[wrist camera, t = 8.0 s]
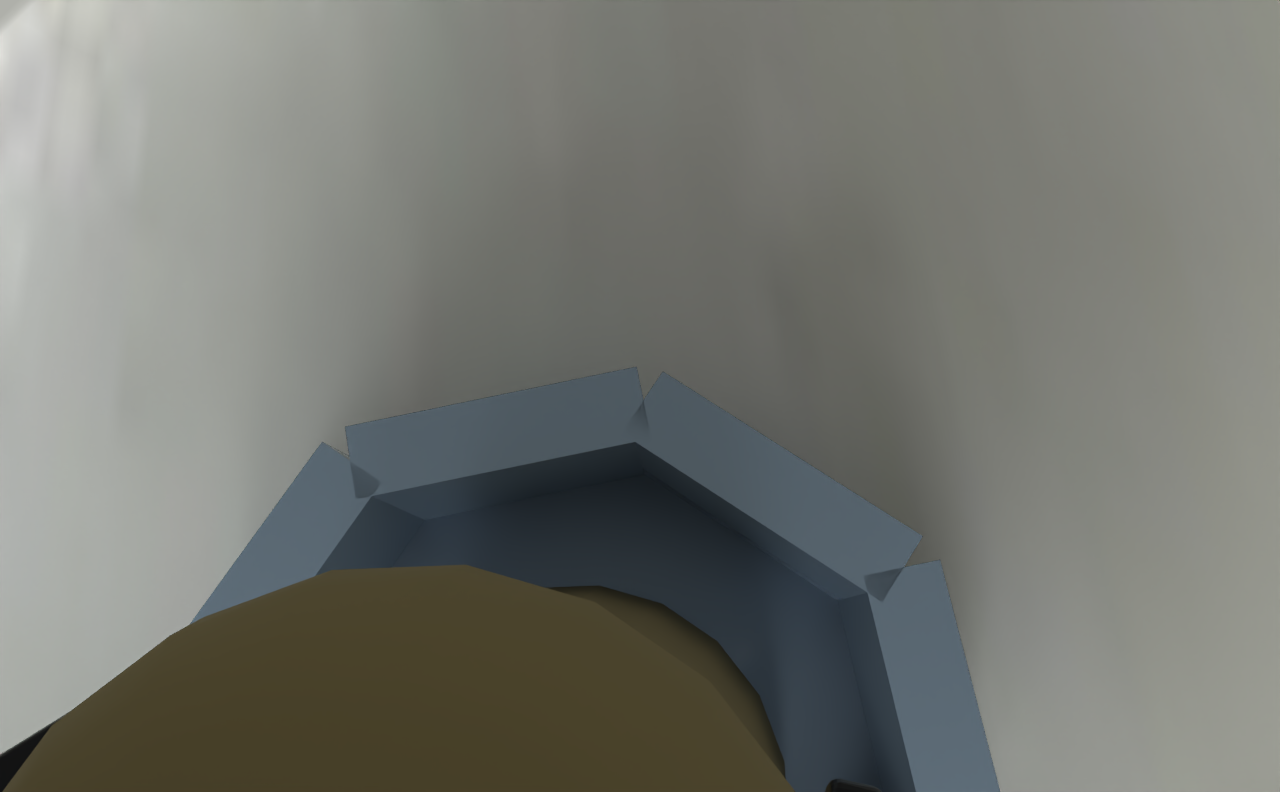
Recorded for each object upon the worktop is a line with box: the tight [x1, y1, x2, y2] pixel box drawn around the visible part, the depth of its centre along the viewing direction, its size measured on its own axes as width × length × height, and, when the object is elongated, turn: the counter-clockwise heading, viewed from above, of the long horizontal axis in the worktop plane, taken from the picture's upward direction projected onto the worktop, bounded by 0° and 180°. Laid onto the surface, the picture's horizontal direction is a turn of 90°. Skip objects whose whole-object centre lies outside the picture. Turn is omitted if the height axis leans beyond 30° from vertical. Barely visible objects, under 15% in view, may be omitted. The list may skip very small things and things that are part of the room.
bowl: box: [190, 367, 1000, 792], centre depth 16 cm, size 11×11×4 cm
